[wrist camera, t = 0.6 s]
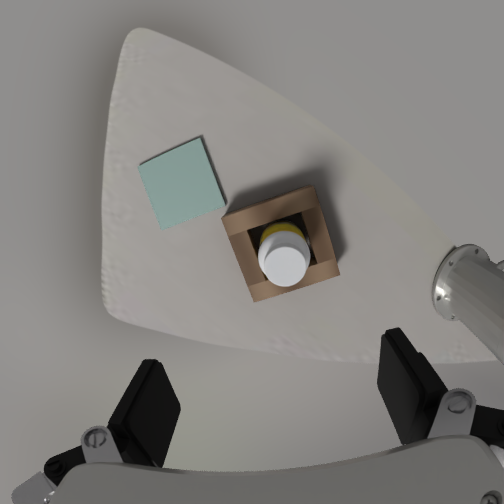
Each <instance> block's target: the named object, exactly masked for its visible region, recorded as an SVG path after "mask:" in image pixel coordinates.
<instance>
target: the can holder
mask: <svg viewBox="0 0 504 504" xmlns="http://www.w3.org/2000/svg"><path fill="white" fill-rule="evenodd" d="M298 212H300V214H301V217H302V220H303V223H304V226H305V229H306V232H307V235H308V238H309V242H310V245H311V248H312V251H313V254H314V257H311V258H310V263H309V266H308V268H307V270H306V272H305V275H304V276H303V278H302V279H301V280H300V281H299V282H298V283H296V284H294V285H291V286H278V285H276V284H274V283H272V282H271V281H270V280H269V279H268V278H267V276H266V275H265V274H264V272H263V271H262V269H261V267H260V265H259V261H258V249H257V247H256V244H255V241H254V239H253V236H252V233H251V231H250V229H251V228H254V227H257V226H260V225H263V224H266V223H269V222H272V221H275V220H277V219H280V218H283V217H286V216H289V215H292V214H295V213H298ZM221 219H222V222H223V225H224V227H225V230H226V232H227V235H228V237H229V240H230V243H231V245H232V248H233V250H234V253H235V255H236V258H237V261H238V263H239V266H240V268H241V271H242V273H243V276H244V278H245V281H246V283H247V286H248V288H249V291H250V293H251V296H252V298H253V301H254V302H257V301H260V300H264V299H267V298H270V297H274V296H277V295H280V294H283V293H286V292H290V291H293V290H296V289H299V288H302V287H305V286H308V285H311V284H314V283H318V282H321V281H324V280H327V279H330V278H332V277H335V276H338V275H340V272H339V269H338V265H337V261H336V257H335V254H334V250H333V247H332V243H331V240H330V236H329V233H328V230H327V226H326V223H325V220H324V216H323V213H322V210H321V207H320V204H319V201H318V197H317V194H316V191H315V188H314V186H312V185H308V186H305V187H302V188H299V189H296V190H293V191H290V192H287V193H284V194H281V195H278V196H275V197H272V198H269V199H267V200H264V201H261V202H258V203H255V204H252V205H249V206H247V207H244V208H241V209H238V210H235V211H233V212H230V213H227V214H225V215H224V216H223V217H222V218H221Z"/></svg>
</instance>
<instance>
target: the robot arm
mask: <svg viewBox="0 0 504 504" xmlns="http://www.w3.org/2000/svg"><path fill="white" fill-rule="evenodd" d="M503 269H504V260H503V261H501V262H499V263H498V264H495V263H493V262H492V261H490V259H489V256H488V254H487V253H486V252H485V251H484V250H483V249H482V248H480V247H479V246H476V245H474V244H466V245H462V246H460V247H458V248H456V249H455V250H453V251H452V252H451V253H450V254H449V255H448V256H447V257H446V258H445V260H444V261H443V262H442V264H441V266H440V268H439V269H438V272H437V274H436V276H435V280H434V283H433V289H432V300H433V305H434V307H435V309H436V311H437V312H438V313H439V315H441V316H442V317H443V318H444V319H446V320H449V321H458V320H460V321H461V322H462V323H463V324H464V325H465V326H466V327H467V328H468V329H469V330H470V331H471V332H472V333H473V334H474V335H475V336H476V337H477V338H478V339H479V340H480V341H481V342H482V343H483V344H484V345H485V346H486V347H487V348H488V349H489V350H490V351H491V352H492V353H493V354H494V355H495V356H496V358H497V359H498V360H499V361H500V362H501V363H502V364H503V365H504V272H503V271H502V270H503ZM377 385H378V389H379V391H380V394H381V395H382V398H383V400H384V403H385V405H386V407H387V409H388V412H389V415H390V417H391V419H392V422H393V424H394V427H395V429H396V431H397V434H398V436H399V439H400V441H401V444H402V445H403V446H399V447H396V448H392V449H389V450H385V451H381V452H378V453H374V454H370V455H366V456H361V457H357V458H352V459H348V460H343V461H338V462H332V463H327V464H321V465H314V466H307V467H299V468H290V469H280V470H267V471H244V472H213V471H192V470H179V469H169V468H162V467H163V464H164V461H165V458H166V455H167V452H168V448H169V445H170V442H171V439H172V436H173V433H174V430H175V426H176V423H177V420H178V417H179V414H180V411H181V408H180V403H179V401H178V399H177V397H176V395H175V393H174V390H173V388H172V386H171V383H170V381H169V379H168V376H167V374H166V372H165V369H164V367H163V365H162V363H161V362H158V360H156V359H145V360H143V361H142V363H141V365H140V367H139V368H138V370H137V372H136V374H135V375H134V377H133V379H132V380H131V382H130V384H129V386H128V387H127V389H126V391H125V393H124V395H123V397H122V398H121V400H120V402H119V404H118V405H117V407H116V409H115V411H114V412H113V414H112V416H111V418H110V420H109V422H108V426H107V428H106V427H104V426H94V427H91V428H90V429H88V430H87V431H85V432H84V434H83V435H82V437H81V446H78V447H76V448H73V449H71V450H68V451H66V452H64V453H61V454H59V455H56V456H54V457H52V458H50V459H49V460H48V461H47V462H46V464H45V465H44V473H41V472H38V473H37V474H36V475H34V476H33V477H31V478H30V479H28V480H27V481H26V482H24V483H23V484H21V485H20V486H18V487H17V488H16V489H15V490H14V491H13V493H12V501H13V503H14V504H504V410H499V409H495V408H490V407H485V406H479V405H476V399H475V396H474V395H473V394H472V393H471V392H470V391H468V390H465V389H459V388H458V389H452V390H450V391H448V389H447V388H446V386H445V385H444V383H443V382H442V380H441V379H440V377H439V376H438V374H437V373H436V372H435V371H434V369H433V367H432V366H431V364H430V363H429V362H428V360H427V359H426V358H425V356H424V355H423V354H422V353H421V352H419V353H418V352H417V351H416V349H415V348H414V347H413V345H412V344H411V342H410V341H409V340H408V338H407V337H406V336H405V334H404V333H403V332H402V330H401V329H400V328H399V327H397V328H393V329H389V330H386V332H385V334H383V335H382V337H381V349H380V361H379V370H378V379H377ZM405 444H406V445H405Z"/></svg>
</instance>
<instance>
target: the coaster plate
mask: <svg viewBox="0 0 504 504" xmlns="http://www.w3.org/2000/svg"><path fill="white" fill-rule="evenodd" d="M138 170H139V173H140V176H141V178H142V181H143V184H144V186H145V189H146V192H147V195H148V197H149V200H150V202H151V205H152V208H153V210H154V213H155V215H156V218H157V220H158V223H159V225H160V228H161V230H164V229H167V228H169V227H172V226H174V225H177V224H179V223H182V222H184V221H187V220H189V219H192V218H194V217H197V216H200V215H202V214H205V213H208V212H210V211H213V210H215V209H218V208H221V207H224V206H226V204H225V201H224V199H223V196H222V193H221V191H220V188H219V185H218V183H217V180H216V177H215V175H214V172H213V170H212V167H211V164H210V162H209V159H208V156H207V154H206V151H205V148H204V146H203V143H202V140H201V138H198V139H196V140H193V141H191V142H189V143H186V144H184V145H182V146H180V147H177V148H175V149H173V150H171V151H169V152H167V153H164V154H162V155H160V156H158V157H156V158H154V159H152V160H150V161H148V162H146V163H144V164H142V165H140V166H138Z"/></svg>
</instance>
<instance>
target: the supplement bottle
mask: <svg viewBox="0 0 504 504" xmlns="http://www.w3.org/2000/svg"><path fill="white" fill-rule="evenodd" d="M258 261H259V265H260V267H261V269H262V271H263V272H264V274H265V275H266V276H267V278H268V279H269V280H270V281H271V282H272V283H274V284H276V285H278V286H291V285H294V284H296V283H298V282H299V281H300V280H301V279H302V278H303V276H304V275H305V272H306V270H307V268H308V266H309V263H310V250H309V247H308V245H307V243H306V240H305V238H304V236H303V233H302V231H301V230H300V228H299V227H298V226H297V225H296V224H294V223H292V222H290V221H286V220H278V221H275V222H273V223H271V224H269V225H268V226H267V227H266V228H265V229H264V231H263V233H262V235H261V239H260V246H259V251H258Z"/></svg>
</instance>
